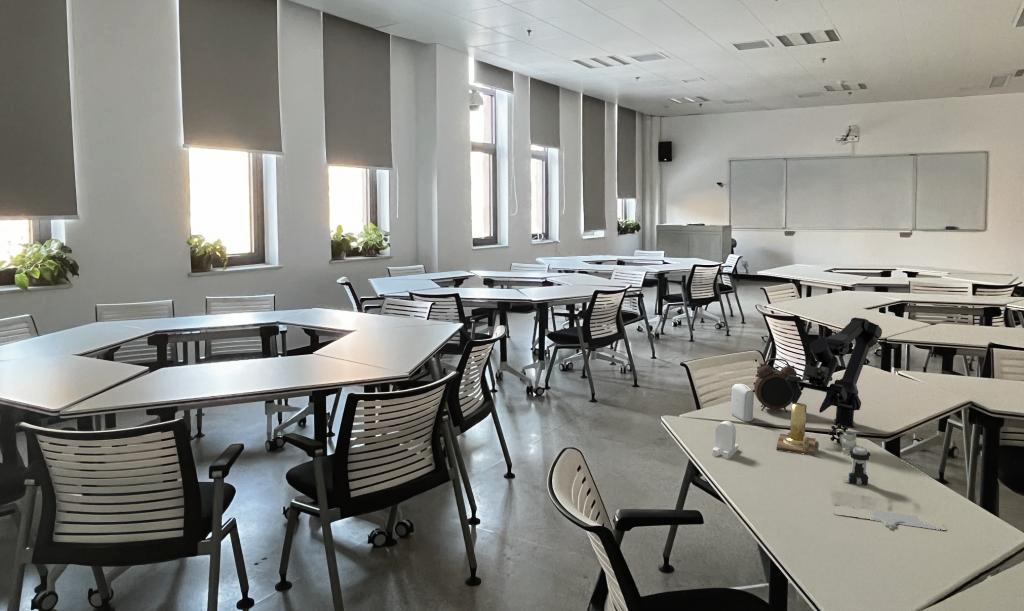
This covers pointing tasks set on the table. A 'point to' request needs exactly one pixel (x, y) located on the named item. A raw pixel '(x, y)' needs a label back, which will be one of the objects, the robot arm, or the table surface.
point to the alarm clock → (774, 386)
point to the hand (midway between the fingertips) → (806, 408)
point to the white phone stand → (725, 440)
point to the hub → (797, 424)
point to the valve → (844, 438)
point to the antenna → (898, 519)
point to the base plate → (806, 448)
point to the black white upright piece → (858, 466)
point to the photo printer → (742, 402)
